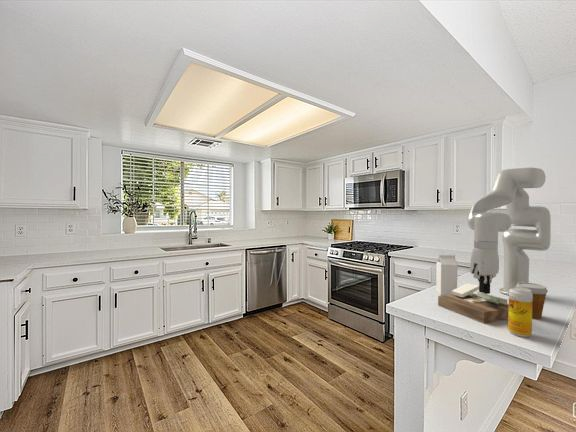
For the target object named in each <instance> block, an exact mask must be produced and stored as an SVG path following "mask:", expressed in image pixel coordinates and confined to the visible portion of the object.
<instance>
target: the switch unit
mask: <svg viewBox="0 0 576 432" xmlns="http://www.w3.org/2000/svg"><path fill="white" fill-rule="evenodd" d="M437 298H438V299H437V305H438V307H439V306H440V307H441V308H444V309H447V310H449V311H452V312H454V313H457V314H459V315H462V316H464V317H467V318H469V319H472V320H474V321H477V322H479V323H482V324H486V323H493V322H498V321H504V320H508V313H509V303H508V302H507V303H502V302H500V303H499V304H496V303H493V302H489V301H486V300H484V298H483V297H479V296H477V293H475V292H473V295H472V296H470V295H467V296H465V297H460V296H457V295H454V294H450V295H438V296H437Z"/></svg>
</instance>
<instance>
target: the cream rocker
mask: <svg viewBox="0 0 576 432" xmlns="http://www.w3.org/2000/svg"><path fill="white" fill-rule="evenodd" d="M478 291H479V284H478V285H477V284H474V283H470V282H467V283H465V284H463V285H461V286H459V287H458V286H457V288H456V289H454V290H452V294H454V295H457V296H460V297H465V296H467V295H470V296H472V295H473V293H475V292H478Z"/></svg>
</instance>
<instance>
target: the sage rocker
mask: <svg viewBox="0 0 576 432" xmlns="http://www.w3.org/2000/svg"><path fill="white" fill-rule="evenodd" d="M476 294H477V296H479V297H483V298H484V300H486V301H489V302H493V303H496V304H499V303H500V302H502V303H507V304H508V299H506V298H503V297H501V296H496V295H492V294H485V293H481V292H479V291H476Z"/></svg>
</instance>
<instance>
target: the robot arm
mask: <svg viewBox="0 0 576 432" xmlns="http://www.w3.org/2000/svg"><path fill="white" fill-rule="evenodd" d="M546 178H547V176H546V173H545V171H544V170H543V169H542V168H538V167H521V168H520V167H519V168H518V167H516V168H506V169H503V170H501V171H499V172H498V173H497V174H496V177H495V179H494V181H493V185H492V186H491V189H490V192H489V193H488V194H486V195H485V196H483V197H481V198H480V199H478V200H477V201H475V202H474V204H473V205H472V206H471V208H470V211H469V214H468V218H467V225H468V227H469V229H470V230H473V233H474V234H473V235H474V236H473V237H474V238H473V248H472V251H471V255H470V261H469V262H470V263H469V272H470V274H471V275H473V278H474V279H477V282H478V286H479V290H478V292H480V293H484V294H489V295H491V283H492V281H493V279H494V278H496V277H497V275H498V274H499V271H500V260H499V259H500V258H499V251H498V250H499V233H502V232H503V233H502V236H501V239H502V243H503V257H504V258H503V285H502V287H500V288H499V293H501V294H503V295H506V296H509V290H510V289H511V287H516V286H517V283H520V282H526V283H530V282H529V281H530V280H529V279H530V257H529V255H528V254H527V253H526V252H525V250H529V251H540V252H544V251H547V250H549V249H550V247H551V236H552V235H551V230H552V229H551V221H552V219H551V217H552V216H551V212H550V210H549V209H548V208H547V207H546V206H530V196H529V193H528V192H527V190H525V189H539V188H542V187H543V186H544V185H545V183H546ZM504 206H505V210H506V211H505V213H504V212H487V211H491V210H493V209H497V208H500V207H501V208H502V207H504ZM513 226H514V227H531V228H535V229H527V228H525V229H524V228H511V227H513Z"/></svg>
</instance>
